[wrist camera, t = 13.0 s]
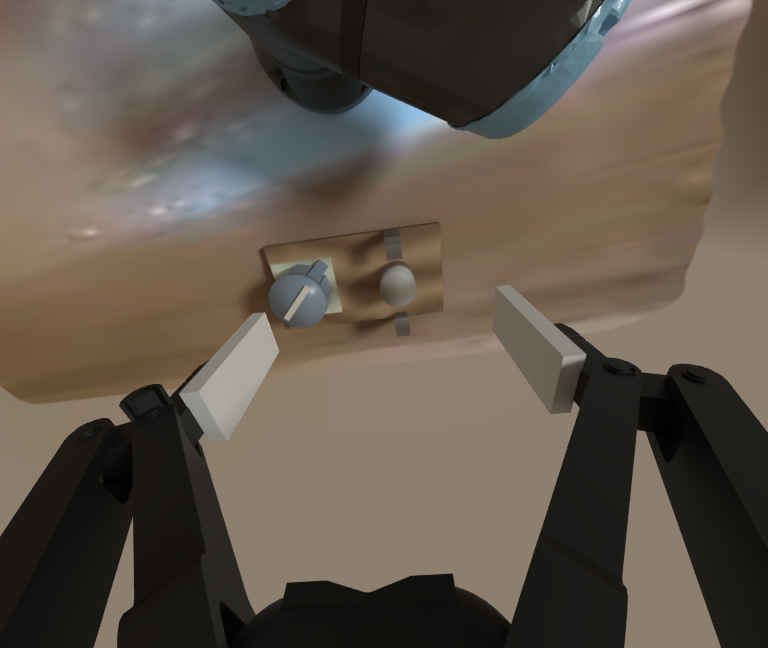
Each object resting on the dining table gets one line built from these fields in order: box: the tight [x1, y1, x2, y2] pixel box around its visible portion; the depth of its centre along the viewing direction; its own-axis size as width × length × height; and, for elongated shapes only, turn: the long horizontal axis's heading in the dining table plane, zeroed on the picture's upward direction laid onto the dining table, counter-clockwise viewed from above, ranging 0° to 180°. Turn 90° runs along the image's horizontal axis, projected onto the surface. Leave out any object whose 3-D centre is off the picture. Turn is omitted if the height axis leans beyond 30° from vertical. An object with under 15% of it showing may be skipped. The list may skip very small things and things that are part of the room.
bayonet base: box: [263, 222, 443, 336], centre depth 42 cm, size 14×26×7 cm, turn 98°
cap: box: [268, 259, 332, 328], centre depth 41 cm, size 11×8×6 cm
